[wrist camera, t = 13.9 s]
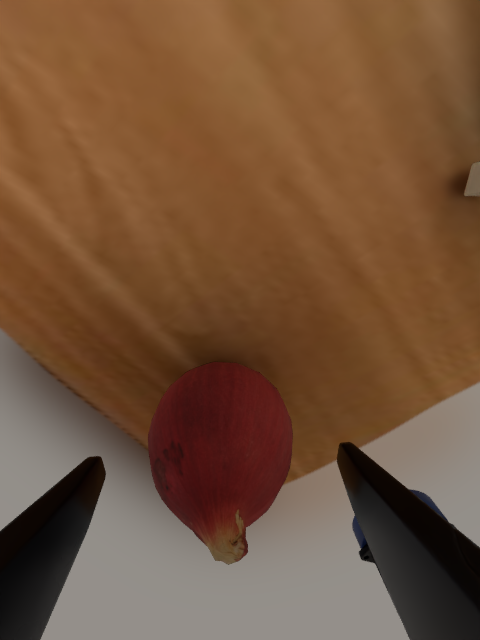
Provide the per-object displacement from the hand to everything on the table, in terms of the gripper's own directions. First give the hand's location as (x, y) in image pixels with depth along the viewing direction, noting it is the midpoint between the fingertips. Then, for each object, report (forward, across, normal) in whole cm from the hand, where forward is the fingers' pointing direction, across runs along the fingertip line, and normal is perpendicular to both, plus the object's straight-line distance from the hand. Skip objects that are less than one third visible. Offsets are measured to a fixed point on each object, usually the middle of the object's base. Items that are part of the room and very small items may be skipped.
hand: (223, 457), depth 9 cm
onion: (+5, 0, 0) cm, 5 cm away
